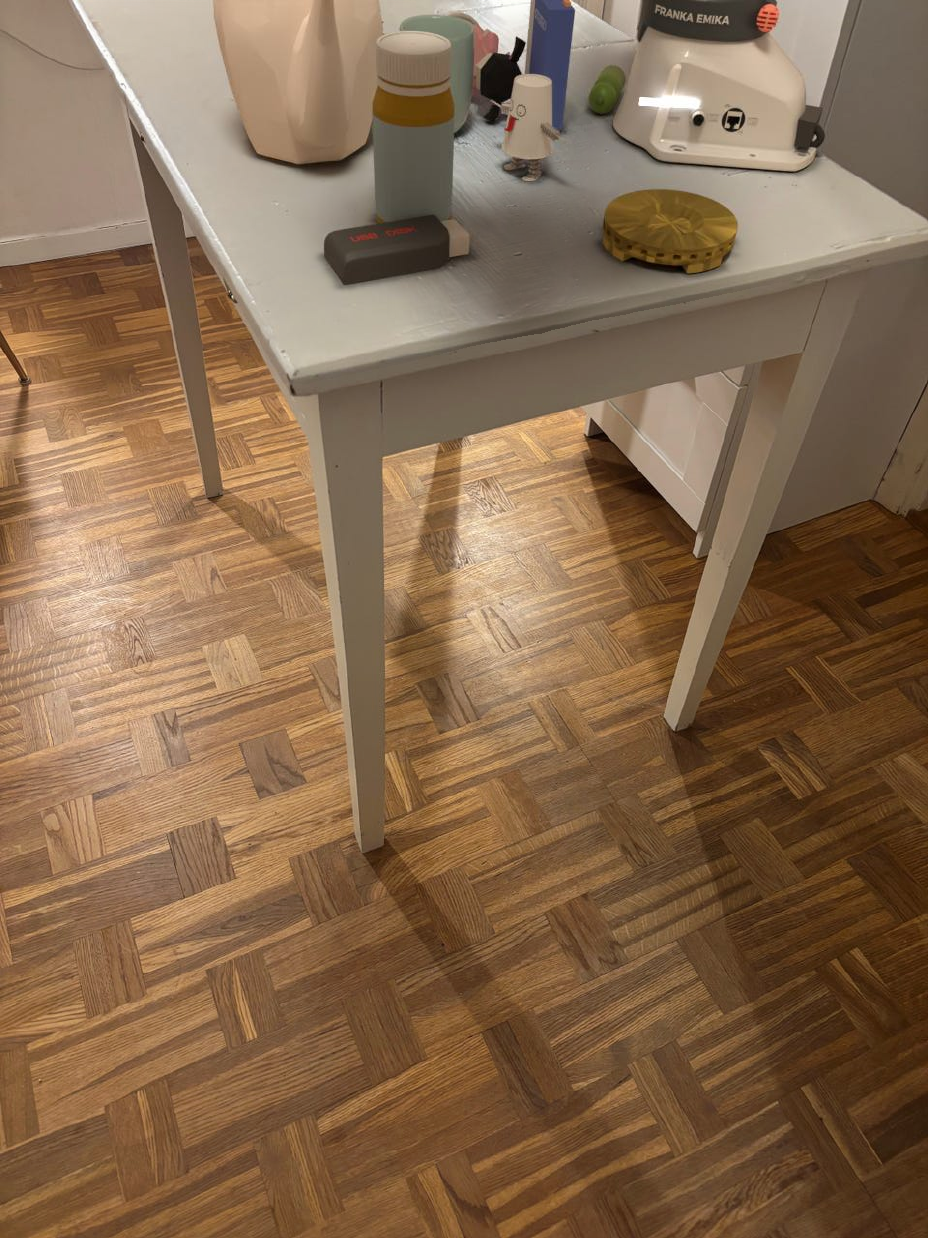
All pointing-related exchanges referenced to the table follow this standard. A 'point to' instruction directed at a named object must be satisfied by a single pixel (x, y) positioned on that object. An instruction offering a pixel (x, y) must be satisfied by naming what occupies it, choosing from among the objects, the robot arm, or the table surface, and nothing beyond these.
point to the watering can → (301, 73)
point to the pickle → (607, 89)
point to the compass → (669, 229)
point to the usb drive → (394, 248)
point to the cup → (452, 56)
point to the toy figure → (529, 123)
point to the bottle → (413, 127)
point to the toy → (492, 66)
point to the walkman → (551, 48)
